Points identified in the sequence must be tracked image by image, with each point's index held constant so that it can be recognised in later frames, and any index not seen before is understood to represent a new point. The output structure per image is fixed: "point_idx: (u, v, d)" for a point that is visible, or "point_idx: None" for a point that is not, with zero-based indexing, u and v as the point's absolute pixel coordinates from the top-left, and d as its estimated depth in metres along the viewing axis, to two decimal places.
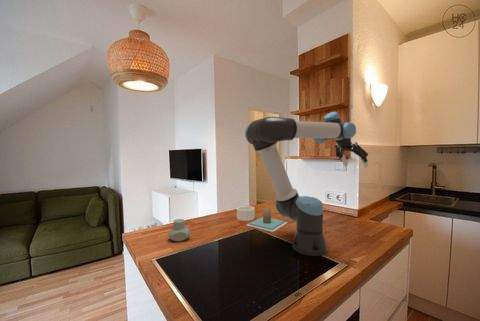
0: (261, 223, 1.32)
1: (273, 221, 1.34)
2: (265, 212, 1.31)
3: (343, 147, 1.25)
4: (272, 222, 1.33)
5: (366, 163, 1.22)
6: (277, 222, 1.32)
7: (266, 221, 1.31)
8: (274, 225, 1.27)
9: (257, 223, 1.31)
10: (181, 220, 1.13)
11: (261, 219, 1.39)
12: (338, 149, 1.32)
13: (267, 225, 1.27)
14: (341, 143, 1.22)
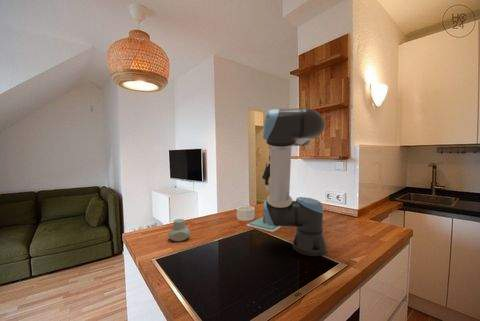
0: (261, 223, 1.32)
1: None
2: None
3: None
4: None
5: None
6: None
7: None
8: None
9: (257, 223, 1.31)
10: (181, 220, 1.13)
11: (261, 219, 1.39)
12: None
13: (267, 225, 1.27)
14: None
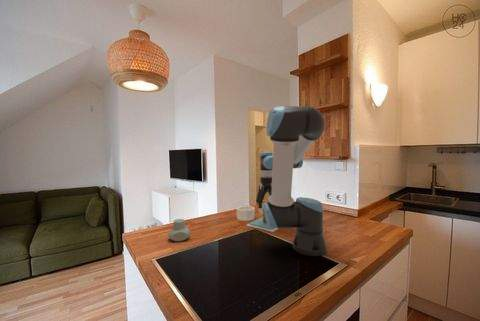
0: (261, 223, 1.32)
1: None
2: None
3: (268, 187, 1.31)
4: None
5: None
6: None
7: None
8: None
9: (257, 223, 1.31)
10: (181, 220, 1.13)
11: (261, 219, 1.39)
12: None
13: (267, 225, 1.27)
14: None
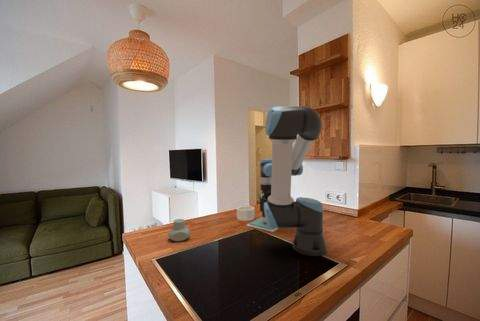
0: (261, 223, 1.32)
1: None
2: None
3: (268, 194, 1.31)
4: None
5: None
6: None
7: None
8: None
9: (257, 223, 1.31)
10: (181, 220, 1.13)
11: (261, 219, 1.39)
12: None
13: (267, 225, 1.27)
14: None
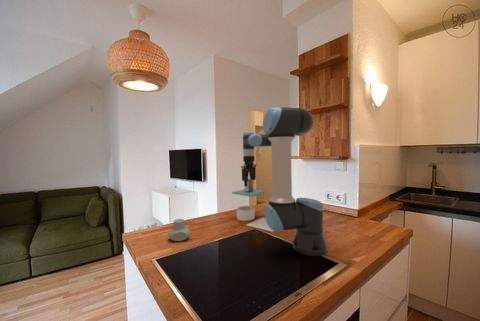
0: (243, 192, 1.42)
1: (255, 191, 1.44)
2: None
3: (250, 165, 1.41)
4: (254, 191, 1.43)
5: None
6: (258, 191, 1.42)
7: None
8: (255, 193, 1.37)
9: (240, 192, 1.41)
10: (181, 220, 1.13)
11: (244, 190, 1.49)
12: None
13: (248, 193, 1.37)
14: (254, 159, 1.41)
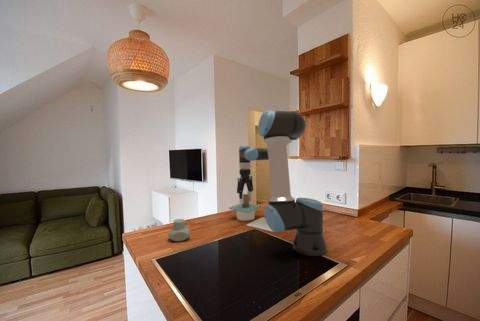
0: (239, 207, 1.44)
1: (251, 206, 1.47)
2: (243, 197, 1.43)
3: (246, 178, 1.43)
4: (250, 206, 1.45)
5: None
6: (255, 206, 1.45)
7: (244, 205, 1.43)
8: (251, 209, 1.40)
9: (236, 207, 1.44)
10: (181, 220, 1.13)
11: (241, 204, 1.51)
12: None
13: (245, 209, 1.40)
14: (250, 172, 1.44)
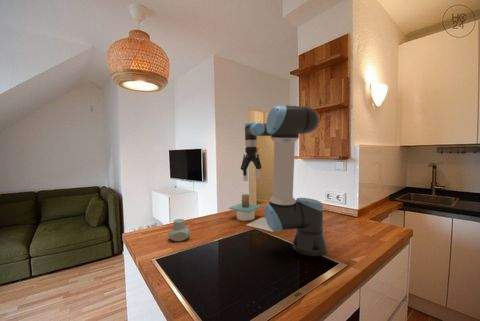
0: (239, 207, 1.44)
1: (251, 206, 1.47)
2: (243, 197, 1.43)
3: (252, 156, 1.36)
4: (250, 206, 1.45)
5: None
6: (255, 206, 1.45)
7: (244, 205, 1.43)
8: (251, 209, 1.40)
9: (236, 207, 1.44)
10: (181, 220, 1.13)
11: (241, 204, 1.51)
12: None
13: (245, 209, 1.40)
14: (256, 150, 1.37)
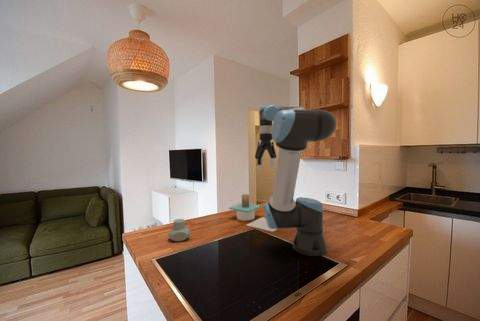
0: (239, 207, 1.44)
1: (251, 206, 1.47)
2: (243, 197, 1.43)
3: (267, 144, 1.24)
4: (250, 206, 1.45)
5: None
6: (255, 206, 1.45)
7: (244, 205, 1.43)
8: (251, 209, 1.40)
9: (236, 207, 1.44)
10: (181, 220, 1.13)
11: (241, 204, 1.51)
12: None
13: (245, 209, 1.40)
14: (272, 137, 1.24)
